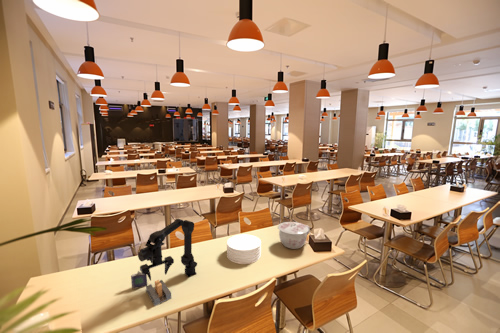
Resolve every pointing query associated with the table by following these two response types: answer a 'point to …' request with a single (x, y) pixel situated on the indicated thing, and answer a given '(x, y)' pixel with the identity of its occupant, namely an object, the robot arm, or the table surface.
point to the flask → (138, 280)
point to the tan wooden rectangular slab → (158, 288)
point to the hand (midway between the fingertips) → (158, 277)
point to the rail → (154, 296)
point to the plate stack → (243, 249)
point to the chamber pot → (293, 234)
